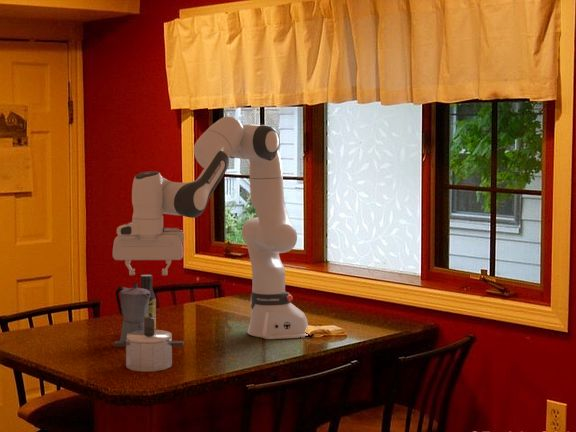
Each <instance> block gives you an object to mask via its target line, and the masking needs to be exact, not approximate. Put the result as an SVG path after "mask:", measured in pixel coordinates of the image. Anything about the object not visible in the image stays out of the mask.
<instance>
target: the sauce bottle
mask: <svg viewBox="0 0 576 432" xmlns="http://www.w3.org/2000/svg"><path fill="white" fill-rule="evenodd" d="M139 278H140V288H143V289H147V290H149V291H150V295H151V297H150V299H149V305H148V312H147V314H146V317H154V330H157V323H156V322H157V314H156V313H157V308H156V307H157V298H156V296H155V292H154V290H153V280H154V279H153V275H152V274H141V275H140V277H139Z"/></svg>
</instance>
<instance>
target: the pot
mask: <svg viewBox="0 0 576 432" xmlns="http://www.w3.org/2000/svg"><path fill="white" fill-rule="evenodd" d="M184 344H185V341H184V340H173V338H172V339H171V340H169V341H167V342H163V343H156V344H137V343H132V342H129V341H127V339H126V341H120V340H119V341H118V340H116V341H114V343H113V347H114V348H115V347H117V348H118V347H120V348H121V347H123V348H124V347H125V362H126V363H125V366H126V368H127V369H129V370H131V371H135V372H158V371H164V370H167V369H170V368H171V367H172V365H173V347H184Z"/></svg>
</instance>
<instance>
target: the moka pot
mask: <svg viewBox="0 0 576 432" xmlns="http://www.w3.org/2000/svg"><path fill="white" fill-rule="evenodd" d="M132 285H133V287H129V288H128V287H126V286H125V287H123V286H121V285H119V286H118V288H117V289H116V290H115V299H116V303H117V307H118V312H119V314H120V315H121V316H123V321H122V326H121V332H120V339H119V341H126V339H127V334H128V333H131V332H134V331H140V330H144V318H145V317H146V314H147V312H148V305H149V299H150V297H151V295H150V291H149V290H147V289H143V288H141V287H138V285H139V283H138V282H134V283H132Z"/></svg>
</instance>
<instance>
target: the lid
mask: <svg viewBox="0 0 576 432" xmlns="http://www.w3.org/2000/svg"><path fill="white" fill-rule="evenodd" d="M172 336H173V334H172V332H170V331H168V330H162V329H155V330H154V317H145V318H144V330H140V331H134V332H131V333H128V334H127V341H129V342H132V343H137V344H156V343H163V342H167V341H169V340H171V339H172V340H173V337H172Z"/></svg>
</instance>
